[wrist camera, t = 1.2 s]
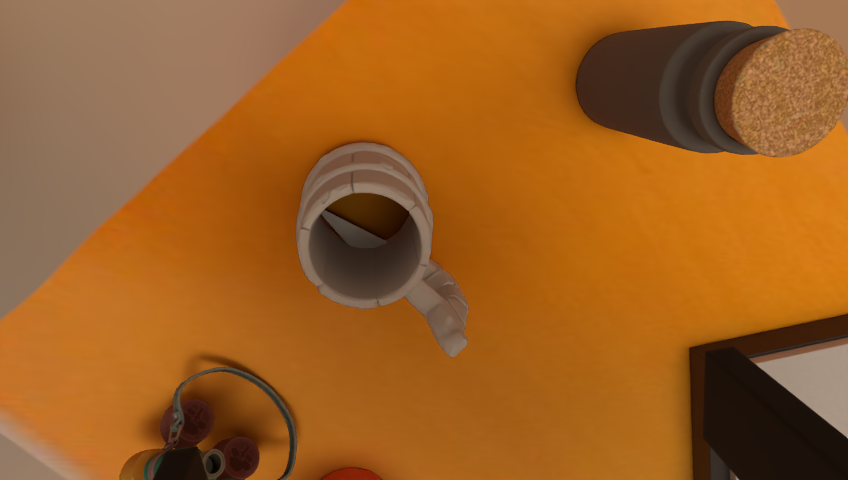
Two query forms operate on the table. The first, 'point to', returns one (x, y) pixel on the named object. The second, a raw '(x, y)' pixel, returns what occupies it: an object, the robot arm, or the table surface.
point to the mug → (377, 242)
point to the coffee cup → (351, 475)
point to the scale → (781, 378)
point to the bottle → (718, 86)
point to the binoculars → (194, 424)
